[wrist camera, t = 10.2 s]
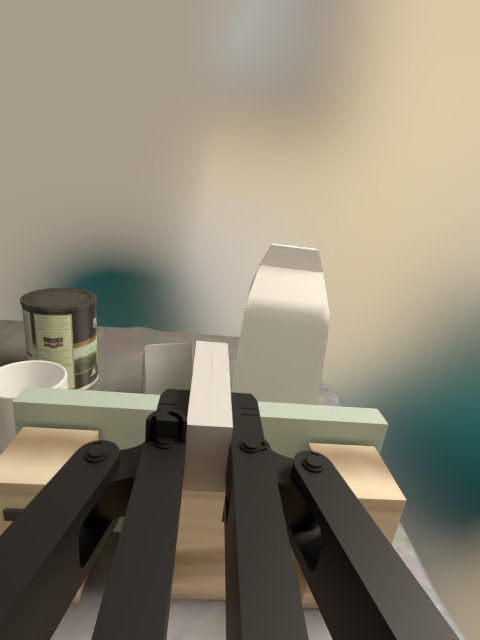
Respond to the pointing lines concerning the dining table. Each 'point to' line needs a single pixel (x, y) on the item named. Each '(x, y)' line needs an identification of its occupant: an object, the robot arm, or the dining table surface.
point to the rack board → (133, 409)
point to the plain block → (200, 548)
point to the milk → (284, 329)
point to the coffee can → (63, 332)
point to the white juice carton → (166, 367)
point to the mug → (13, 379)
